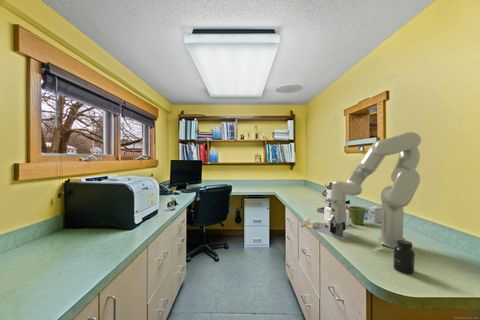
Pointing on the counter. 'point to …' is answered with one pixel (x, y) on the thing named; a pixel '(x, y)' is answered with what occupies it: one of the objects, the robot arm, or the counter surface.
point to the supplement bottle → (404, 257)
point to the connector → (338, 229)
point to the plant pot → (357, 214)
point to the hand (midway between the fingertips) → (337, 231)
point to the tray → (323, 210)
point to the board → (322, 228)
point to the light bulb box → (373, 213)
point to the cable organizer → (327, 215)
